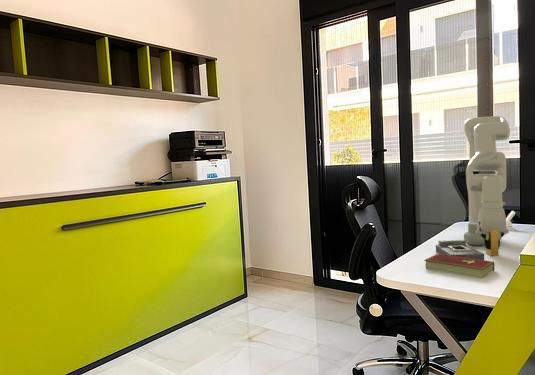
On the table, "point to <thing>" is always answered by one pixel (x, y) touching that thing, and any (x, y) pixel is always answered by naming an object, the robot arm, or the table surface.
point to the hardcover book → (460, 265)
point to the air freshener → (473, 235)
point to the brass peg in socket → (493, 243)
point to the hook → (508, 223)
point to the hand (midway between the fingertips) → (492, 248)
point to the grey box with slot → (458, 249)
